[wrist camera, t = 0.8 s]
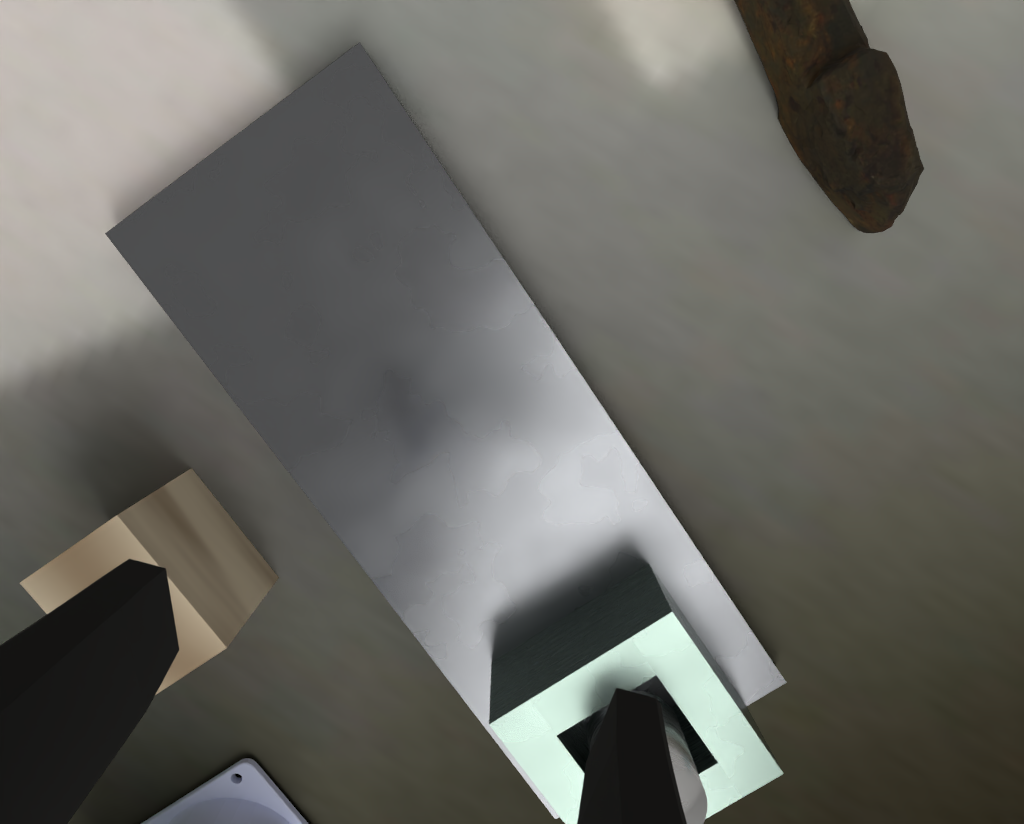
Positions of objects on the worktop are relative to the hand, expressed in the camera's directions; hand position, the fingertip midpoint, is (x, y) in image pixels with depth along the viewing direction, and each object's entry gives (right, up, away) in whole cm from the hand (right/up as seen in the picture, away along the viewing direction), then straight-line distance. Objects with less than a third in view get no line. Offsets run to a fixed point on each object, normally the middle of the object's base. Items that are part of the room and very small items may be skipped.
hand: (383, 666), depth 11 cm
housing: (-12, -2, +20) cm, 23 cm away
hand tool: (+12, +20, +16) cm, 28 cm away
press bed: (0, +2, +19) cm, 19 cm away
